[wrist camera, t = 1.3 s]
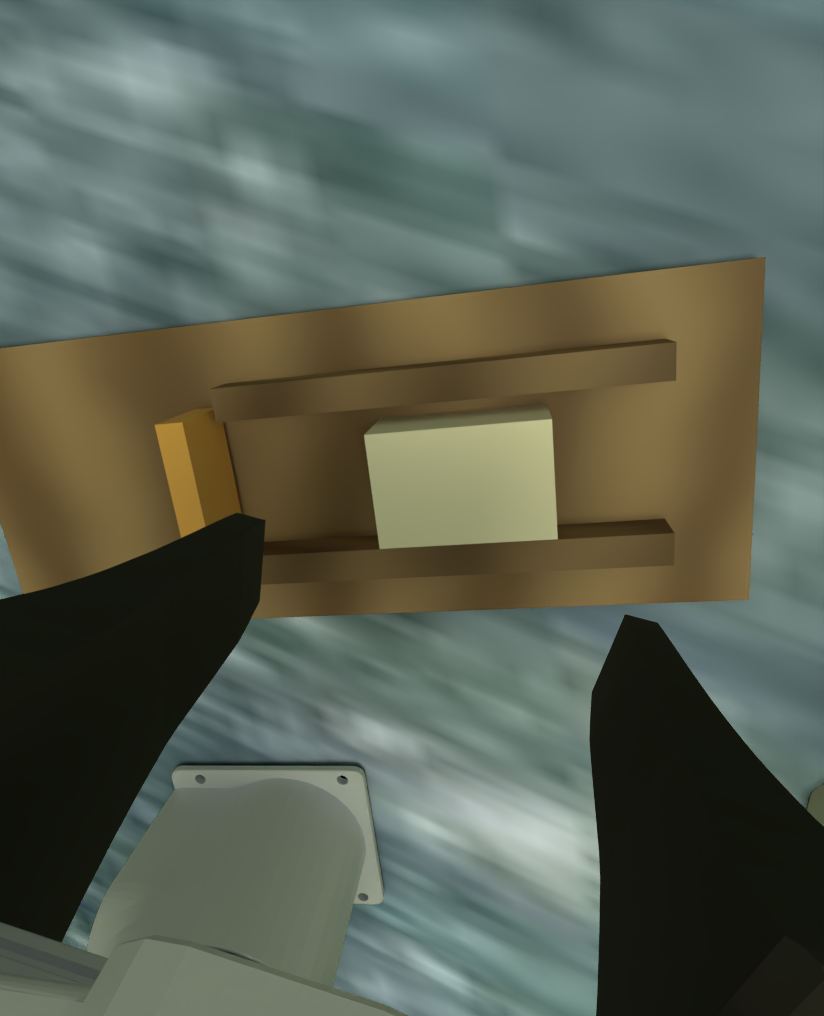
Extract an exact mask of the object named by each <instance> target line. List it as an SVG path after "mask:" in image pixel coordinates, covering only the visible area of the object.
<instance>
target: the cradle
mask: <svg viewBox="0 0 824 1016" xmlns="http://www.w3.org/2000/svg"><path fill="white" fill-rule="evenodd" d="M765 258H766V257H762V258H754V259H745V260H737V261H728V262H720V263H712V264H703V265H695V266H687V267H678V268H670V269H661V270H653V271H645V272H636V273H628V274H619V275H611V276H603V277H594V278H586V279H577V280H569V281H561V282H552V283H544V284H536V285H527V286H519V287H510V288H502V289H494V290H485V291H477V292H468V293H460V294H452V295H443V296H435V297H426V298H418V299H410V300H401V301H393V302H385V303H376V304H368V305H359V306H351V307H343V308H334V309H326V310H317V311H309V312H301V313H292V314H284V315H275V316H267V317H259V318H250V319H242V320H234V321H225V322H217V323H208V324H200V325H192V326H183V327H175V328H166V329H158V330H150V331H141V332H133V333H124V334H116V335H108V336H99V337H91V338H83V339H74V340H66V341H57V342H49V343H41V344H32V345H24V346H15V347H7V348H0V523H1V526H2V529H3V532H4V535H5V538H6V541H7V544H8V548H9V551H10V554H11V557H12V560H13V563H14V566H15V569H16V572H17V575H18V578H19V581H20V585H21V588H22V591H23V594H26V593H30V592H34V591H38V590H42V589H46V588H50V587H53V586H57V585H60V584H63V583H66V582H70V581H73V580H76V579H80V578H83V577H86V576H89V575H92V574H95V573H97V572H100V571H103V570H106V569H109V568H111V567H114V566H116V565H119V564H121V563H123V562H126V561H128V560H131V559H133V558H136V557H138V556H141V555H143V554H146V553H148V552H151V551H153V550H156V549H158V548H160V547H162V546H164V545H167V544H169V543H171V542H173V541H175V540H178V539H180V538H181V535H180V531H179V526H178V522H177V518H176V514H175V509H174V505H173V501H172V497H171V493H170V488H169V484H168V480H167V476H166V471H165V467H164V463H163V459H162V454H161V450H160V446H159V442H158V438H157V433H156V429H155V425H156V424H158V423H161V422H163V421H166V420H168V419H171V418H174V417H176V416H179V415H181V414H184V413H186V412H189V411H191V410H194V409H202V408H212V407H213V411H214V416H215V421H216V423H220V422H223V425H224V430H225V435H226V440H227V445H228V450H229V455H230V460H231V465H232V469H233V474H234V479H235V484H236V489H237V494H238V499H239V504H240V509H241V514H244V515H248V516H252V517H256V518H260V519H263V520H266V522H265V536H264V550H263V564H262V578H261V592H260V602H259V604H258V606H257V608H256V610H255V612H254V614H253V615H252V617H251V618H275V617H302V616H328V615H355V614H381V613H408V612H434V611H461V610H487V609H514V608H540V607H567V606H593V605H620V604H646V603H673V602H699V601H725V600H749V588H750V567H751V547H752V526H753V505H754V485H755V464H756V443H757V423H758V402H759V381H760V361H761V340H762V320H763V299H764V278H765ZM540 403H547V405H548V408H549V411H550V415H551V418H552V430H553V450H554V471H555V492H556V512H557V533H558V539H554V540H535V541H517V542H499V543H480V544H462V545H444V546H426V547H407V548H389V549H380V548H379V541H378V533H377V526H376V519H375V512H374V504H373V497H372V490H371V483H370V476H369V468H368V461H367V454H366V447H365V439H364V434H365V433H366V432H367V431H368V430H369V429H370V428H371V427H372V426H373V425H374V424H375V423H376V422H377V421H378V420H379V419H380V418H383V417H394V416H405V415H417V414H428V413H439V412H450V411H462V410H473V409H484V408H495V407H506V406H518V405H529V404H540Z"/></svg>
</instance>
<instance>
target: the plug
mask: <svg viewBox="0 0 824 1016" xmlns="http://www.w3.org/2000/svg"><path fill="white" fill-rule="evenodd" d="M364 439H365V447H366V454H367V461H368V468H369V476H370V483H371V490H372V497H373V504H374V512H375V519H376V526H377V533H378V541H379V548H380V549H389V548H407V547H426V546H444V545H462V544H480V543H499V542H517V541H535V540H554V539H558V533H557V512H556V492H555V471H554V450H553V430H552V418H551V415H550V411H549V408H548V405H547V403H540V404H529V405H518V406H506V407H495V408H484V409H473V410H462V411H450V412H439V413H428V414H417V415H405V416H394V417H383V418H380V419H379V420H378V421H377V422H376V423H375V424H374V425H373V426H372V427H371V428H370V429H369V430H368V431H367V432H366V433H365V434H364Z"/></svg>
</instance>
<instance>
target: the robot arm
mask: <svg viewBox="0 0 824 1016" xmlns="http://www.w3.org/2000/svg"><path fill="white" fill-rule="evenodd" d="M265 522H266V520H263V519H260V518H256V517H252V516H248V515H244V514H241V513H235V514H232V515H230V516H227V517H225V518H223V519H221V520H218V521H216V522H214V523H212V524H210V525H208V526H206V527H204V528H201V529H199V530H197V531H195V532H193V533H191V534H189V535H186V536H184V537H182V538H180V539H178V540H175V541H173V542H171V543H169V544H167V545H164V546H162V547H160V548H158V549H156V550H153V551H151V552H148V553H146V554H143V555H141V556H138V557H136V558H133V559H131V560H128V561H126V562H123V563H121V564H119V565H116V566H114V567H111V568H109V569H106V570H103V571H100V572H97V573H95V574H92V575H89V576H86V577H83V578H80V579H76V580H73V581H70V582H66V583H63V584H60V585H57V586H53V587H50V588H46V589H42V590H38V591H34V592H30V593H26V594H22V595H17V596H13V597H9V598H5V599H1V600H0V1016H408V1015H406V1014H403V1013H401V1012H399V1011H397V1010H395V1009H393V1008H391V1007H389V1006H387V1005H384V1004H381V1003H378V1002H375V1001H372V1000H369V999H366V998H363V997H360V996H357V995H354V994H351V993H348V992H344V991H341V990H338V989H335V988H333V984H334V980H335V976H336V972H337V968H338V964H339V960H340V956H341V952H342V948H343V944H344V940H345V936H346V932H347V928H348V924H349V920H350V916H351V912H352V908H353V904H379V903H381V902H382V900H383V897H384V887H383V881H382V875H381V869H380V863H379V857H378V850H377V844H376V838H375V832H374V826H373V820H372V814H371V808H370V802H369V796H368V789H367V783H366V777H365V773H364V771H363V770H362V769H361V768H359V767H356V766H178V767H177V768H176V769H175V770H174V772H173V773H172V781H173V785H174V788H175V789H174V791H173V792H172V794H171V795H170V797H169V798H168V800H167V801H166V803H165V804H164V806H163V807H162V809H161V810H160V812H159V813H158V815H157V816H156V818H155V819H154V821H153V822H152V824H151V825H150V827H149V828H148V830H147V831H146V833H145V834H144V836H143V837H142V839H141V840H140V842H139V843H138V845H137V846H136V848H135V849H134V851H133V852H132V854H131V855H130V857H129V858H128V860H127V861H126V863H125V864H124V866H123V867H122V869H121V870H120V872H119V873H118V875H117V876H116V878H115V879H114V881H113V883H112V884H111V886H110V888H109V889H108V891H107V893H106V895H105V897H104V899H103V901H102V903H101V905H100V908H99V910H98V913H97V915H96V918H95V921H94V924H93V927H92V931H91V934H90V938H89V942H88V946H87V951H85V950H82V949H79V948H76V947H73V946H70V945H67V944H64V943H61V942H62V940H63V938H64V936H65V934H66V932H67V930H68V928H69V926H70V924H71V921H72V919H73V917H74V915H75V913H76V911H77V909H78V907H79V905H80V903H81V901H82V899H83V897H84V895H85V893H86V891H87V889H88V887H89V885H90V883H91V881H92V879H93V877H94V875H95V873H96V871H97V870H98V868H99V866H100V864H101V862H102V860H103V858H104V856H105V854H106V852H107V850H108V848H109V846H110V844H111V842H112V840H113V838H114V837H115V835H116V833H117V831H118V829H119V827H120V826H121V824H122V822H123V820H124V818H125V816H126V815H127V813H128V811H129V809H130V807H131V805H132V804H133V802H134V800H135V798H136V796H137V794H138V792H139V791H140V789H141V787H142V785H143V784H144V782H145V780H146V778H147V777H148V775H149V773H150V771H151V770H152V768H153V766H154V764H155V763H156V761H157V759H158V757H159V756H160V754H161V752H162V750H163V749H164V747H165V745H166V744H167V742H168V741H169V739H170V738H171V736H172V735H173V733H174V732H175V730H176V729H177V727H178V726H179V724H180V723H181V721H182V720H183V719H184V717H185V716H186V715H187V713H188V712H189V710H190V709H191V708H192V706H193V705H194V703H195V702H196V701H197V699H198V698H199V696H200V695H201V694H202V692H203V691H204V690H205V688H206V687H207V685H208V684H209V683H210V681H211V680H212V678H213V677H214V676H215V674H216V673H217V672H218V670H219V669H220V667H221V666H222V664H223V663H224V662H225V660H226V659H227V657H228V656H229V655H230V653H231V652H232V650H233V649H234V647H235V646H236V645H237V643H238V642H239V640H240V638H241V636H242V634H243V633H244V631H245V629H246V627H247V625H248V623H249V621H250V619H251V617H252V615H253V614H254V612H255V610H256V608H257V606H258V604H259V602H260V592H261V578H262V564H263V550H264V536H265ZM590 753H591V765H592V777H593V788H594V799H595V811H596V822H597V833H598V844H599V858H600V934H599V964H598V993H597V1012H596V1016H824V826H823V825H822V824H821V823H820V822H818V821H817V820H816V819H815V818H814V817H813V816H812V815H811V814H810V813H809V812H808V811H807V810H806V809H805V808H804V807H803V806H802V805H801V804H800V803H799V802H798V801H797V800H796V799H795V798H794V797H793V796H792V795H791V794H790V792H789V791H788V790H787V789H786V788H785V787H784V786H783V785H782V784H781V783H780V782H779V781H778V780H777V779H776V778H775V776H774V775H773V774H772V773H771V772H770V771H769V770H768V769H767V768H766V767H765V766H764V764H763V763H762V762H761V761H760V760H759V759H758V758H757V757H756V755H755V754H754V753H753V752H752V751H751V749H750V748H749V747H748V746H747V745H746V743H745V742H744V741H743V740H742V738H741V737H740V736H739V735H738V733H737V732H736V731H735V730H734V729H733V727H732V726H731V725H730V724H729V722H728V721H727V720H726V718H725V717H724V716H723V714H722V713H721V712H720V711H719V709H718V708H717V707H716V705H715V704H714V703H713V701H712V700H711V699H710V697H709V696H708V694H707V693H706V692H705V690H704V689H703V687H702V686H701V685H700V683H699V682H698V680H697V679H696V678H695V676H694V675H693V673H692V672H691V670H690V669H689V667H688V666H687V664H686V663H685V662H684V660H683V659H682V657H681V656H680V654H679V653H678V651H677V650H676V648H675V647H674V645H673V644H672V642H671V641H670V640H669V638H668V637H667V635H666V634H665V632H664V631H663V629H662V628H661V627H660V625H659V624H658V623H656V622H653V621H649V620H645V619H641V618H637V617H633V616H630V615H626V614H625V616H624V618H623V621H622V623H621V625H620V628H619V630H618V632H617V635H616V637H615V639H614V642H613V644H612V646H611V649H610V651H609V653H608V656H607V658H606V660H605V663H604V665H603V667H602V670H601V672H600V675H599V677H598V679H597V682H596V684H595V686H594V689H593V691H592V700H591V716H590ZM200 775H202V776H204V777H205V778H203V777H201V776H200ZM341 775H342V776H345V777H346V778H347V779H344V778H341V777H340V776H341ZM363 893H365V894H363Z"/></svg>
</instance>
